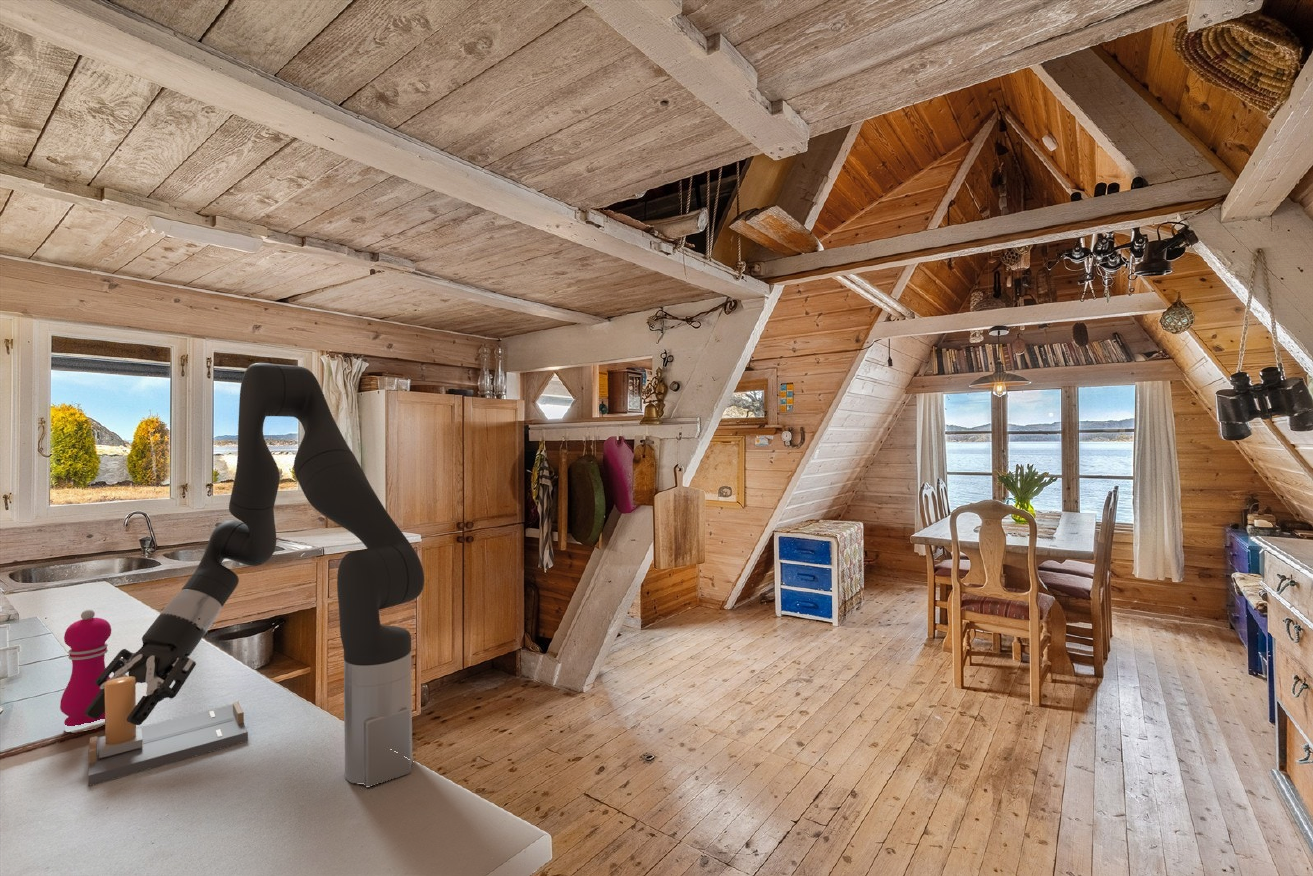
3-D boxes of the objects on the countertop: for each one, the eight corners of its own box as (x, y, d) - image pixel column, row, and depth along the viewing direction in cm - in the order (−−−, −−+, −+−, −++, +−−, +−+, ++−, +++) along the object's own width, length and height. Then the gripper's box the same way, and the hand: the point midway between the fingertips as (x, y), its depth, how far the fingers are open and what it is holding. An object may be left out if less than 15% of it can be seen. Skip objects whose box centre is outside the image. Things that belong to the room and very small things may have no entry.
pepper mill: (82, 737, 102) (81, 617, 102) (48, 733, 104) (47, 614, 104) (128, 717, 110) (126, 605, 109) (95, 713, 111) (94, 602, 111)
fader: (142, 747, 96) (141, 681, 95) (99, 758, 92) (98, 690, 92) (141, 735, 99) (140, 672, 99) (99, 745, 96) (98, 680, 96)
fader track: (247, 741, 101) (247, 721, 101) (88, 786, 88) (88, 763, 88) (235, 712, 111) (234, 693, 111) (91, 748, 99) (90, 728, 99)
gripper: (135, 609, 105) (56, 706, 94) (202, 614, 101) (128, 715, 90) (166, 630, 110) (95, 724, 99) (231, 636, 106) (165, 734, 95)
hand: (111, 720), depth 95 cm, fingers open, 8 cm apart
